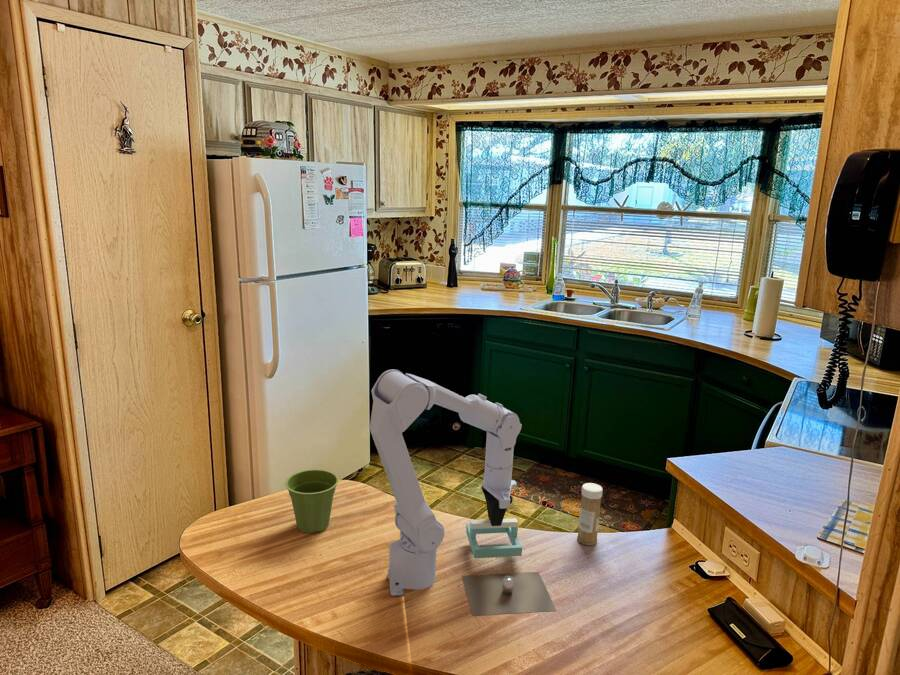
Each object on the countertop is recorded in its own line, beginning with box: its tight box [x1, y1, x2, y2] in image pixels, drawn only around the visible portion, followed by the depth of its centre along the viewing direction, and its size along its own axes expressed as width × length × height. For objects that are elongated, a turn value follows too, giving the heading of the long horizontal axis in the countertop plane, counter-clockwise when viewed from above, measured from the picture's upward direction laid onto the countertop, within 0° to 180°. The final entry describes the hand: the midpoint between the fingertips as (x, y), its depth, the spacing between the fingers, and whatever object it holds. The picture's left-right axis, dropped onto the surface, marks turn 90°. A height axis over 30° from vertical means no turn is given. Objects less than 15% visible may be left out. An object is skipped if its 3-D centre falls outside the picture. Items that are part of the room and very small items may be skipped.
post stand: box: [461, 571, 557, 617], centre depth 119 cm, size 16×12×4 cm
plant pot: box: [284, 468, 340, 534], centre depth 140 cm, size 12×12×11 cm
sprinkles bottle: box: [576, 482, 604, 546], centre depth 139 cm, size 5×5×14 cm
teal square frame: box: [465, 517, 523, 559], centre depth 131 cm, size 10×10×5 cm
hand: (494, 522), depth 131 cm, fingers closed on teal square frame
